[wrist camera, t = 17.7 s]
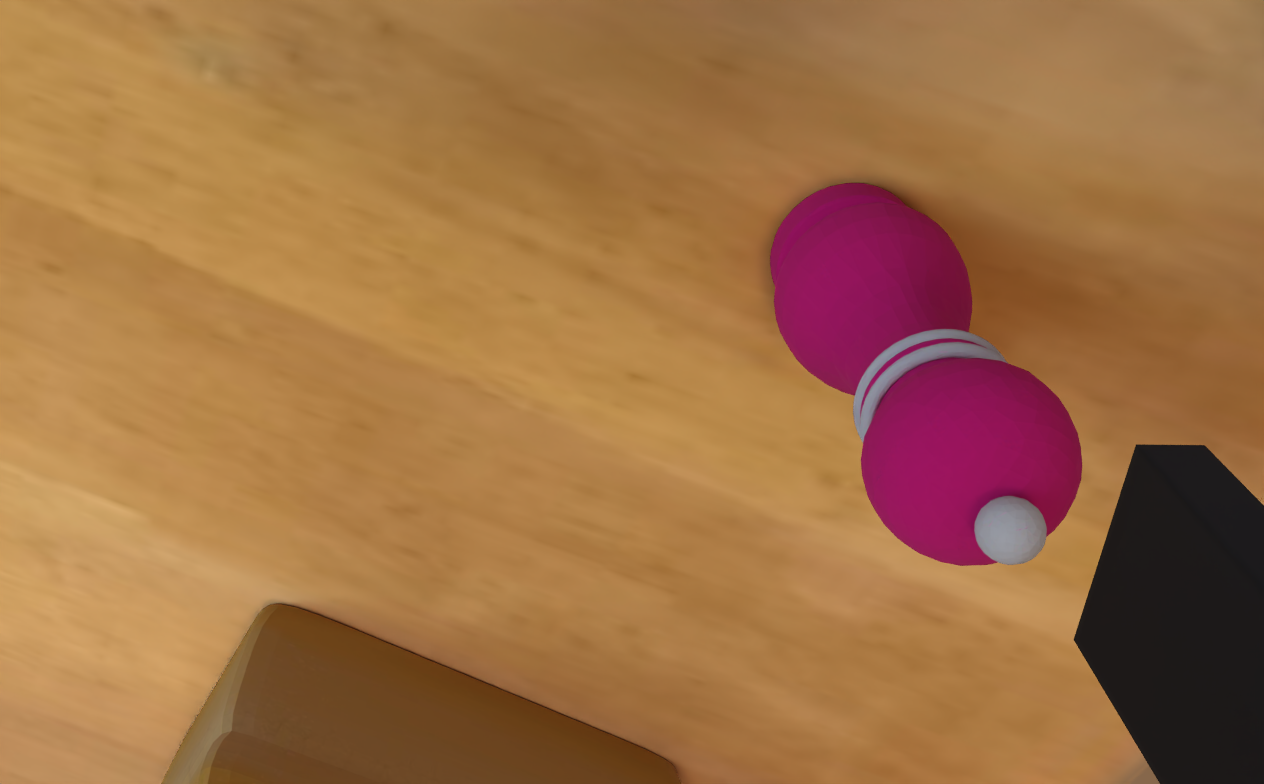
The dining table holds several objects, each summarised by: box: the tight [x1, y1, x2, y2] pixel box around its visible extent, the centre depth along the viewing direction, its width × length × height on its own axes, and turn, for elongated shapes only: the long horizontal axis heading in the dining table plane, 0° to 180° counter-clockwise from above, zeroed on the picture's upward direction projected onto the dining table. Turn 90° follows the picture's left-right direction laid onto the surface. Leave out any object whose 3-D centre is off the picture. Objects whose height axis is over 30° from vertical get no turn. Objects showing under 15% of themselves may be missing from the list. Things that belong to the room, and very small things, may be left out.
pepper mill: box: [770, 183, 1082, 566], centre depth 36 cm, size 7×7×20 cm
